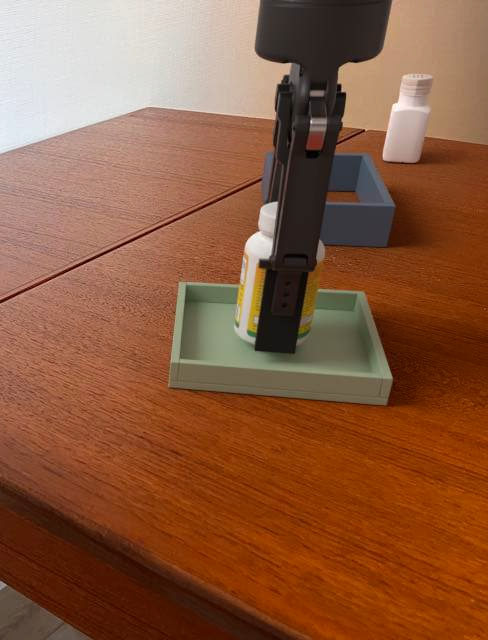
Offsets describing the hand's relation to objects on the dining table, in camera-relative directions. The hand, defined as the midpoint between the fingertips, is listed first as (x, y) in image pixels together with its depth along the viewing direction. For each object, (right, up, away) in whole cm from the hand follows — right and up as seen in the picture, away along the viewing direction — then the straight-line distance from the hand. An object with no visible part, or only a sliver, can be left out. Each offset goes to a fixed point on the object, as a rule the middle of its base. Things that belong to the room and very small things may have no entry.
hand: (272, 330), depth 64 cm
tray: (0, -1, +1) cm, 2 cm away
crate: (+14, +14, +25) cm, 32 cm away
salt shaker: (+30, +24, +40) cm, 55 cm away
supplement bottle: (0, 0, 0) cm, 1 cm away
